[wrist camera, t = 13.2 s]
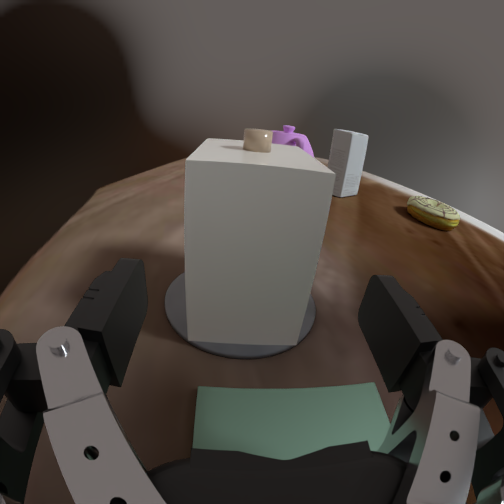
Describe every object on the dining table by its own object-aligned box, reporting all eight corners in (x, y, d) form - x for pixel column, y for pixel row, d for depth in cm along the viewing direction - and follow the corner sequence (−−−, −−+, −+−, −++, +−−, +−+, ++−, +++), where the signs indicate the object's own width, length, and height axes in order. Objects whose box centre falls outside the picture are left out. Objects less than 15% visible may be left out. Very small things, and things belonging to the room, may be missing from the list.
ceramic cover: (202, 264, 25) (208, 122, 19) (279, 269, 25) (300, 130, 20) (188, 340, 17) (186, 132, 11) (296, 345, 17) (340, 148, 12)
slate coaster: (232, 251, 28) (232, 248, 28) (337, 300, 22) (338, 296, 22) (135, 299, 20) (134, 295, 20) (255, 389, 14) (255, 385, 14)
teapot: (296, 162, 77) (301, 125, 72) (325, 182, 60) (333, 134, 55) (247, 159, 74) (251, 120, 69) (263, 177, 57) (269, 125, 52)
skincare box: (340, 189, 56) (350, 130, 50) (358, 196, 53) (369, 135, 47) (321, 191, 52) (332, 127, 46) (340, 199, 49) (352, 132, 43)
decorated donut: (420, 209, 53) (424, 192, 51) (461, 230, 45) (467, 213, 43) (395, 211, 48) (400, 192, 46) (443, 236, 40) (450, 215, 38)
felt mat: (198, 390, 14) (197, 385, 14) (371, 386, 15) (374, 382, 15) (188, 605, 3) (187, 606, 3) (425, 562, 4) (430, 561, 4)
